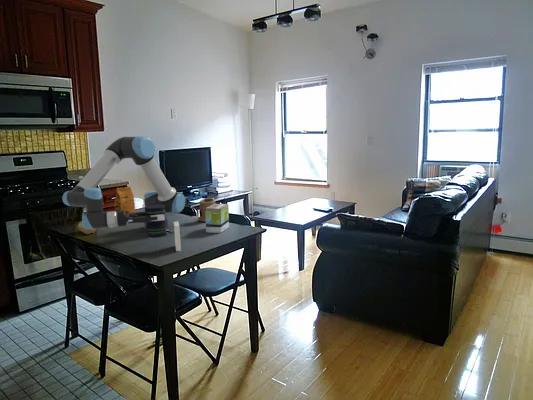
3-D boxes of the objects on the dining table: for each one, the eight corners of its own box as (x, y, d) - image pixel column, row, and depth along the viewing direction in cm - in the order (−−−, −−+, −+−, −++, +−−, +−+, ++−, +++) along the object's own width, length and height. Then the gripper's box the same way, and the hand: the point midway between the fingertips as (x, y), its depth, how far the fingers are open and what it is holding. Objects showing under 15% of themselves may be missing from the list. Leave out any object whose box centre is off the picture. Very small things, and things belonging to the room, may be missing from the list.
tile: (176, 251, 201) (174, 226, 199) (175, 245, 211) (173, 221, 209) (181, 250, 202) (179, 225, 200) (180, 245, 211) (178, 221, 209)
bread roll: (91, 229, 253) (89, 216, 252) (100, 233, 243) (99, 220, 241) (75, 232, 247) (73, 219, 245) (84, 236, 236) (82, 223, 235)
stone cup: (204, 223, 258) (202, 200, 255) (195, 220, 267) (194, 198, 265) (224, 220, 267) (223, 197, 264) (215, 217, 276) (214, 195, 274)
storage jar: (142, 237, 200) (140, 207, 197) (154, 232, 209) (152, 203, 206) (159, 238, 196) (157, 208, 193) (170, 233, 205) (168, 204, 202)
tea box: (222, 233, 234) (220, 208, 231) (205, 232, 236) (204, 208, 233) (229, 226, 248) (228, 203, 246) (214, 226, 250) (212, 203, 248)
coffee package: (113, 219, 280) (110, 187, 276) (129, 215, 289) (127, 185, 286) (121, 220, 274) (118, 188, 270) (137, 217, 283) (134, 186, 279)
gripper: (120, 221, 207) (164, 217, 213) (115, 231, 186) (165, 227, 192) (118, 207, 206) (163, 203, 212) (114, 216, 185) (164, 212, 190)
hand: (164, 215), depth 202 cm, fingers closed on storage jar, 10 cm apart
